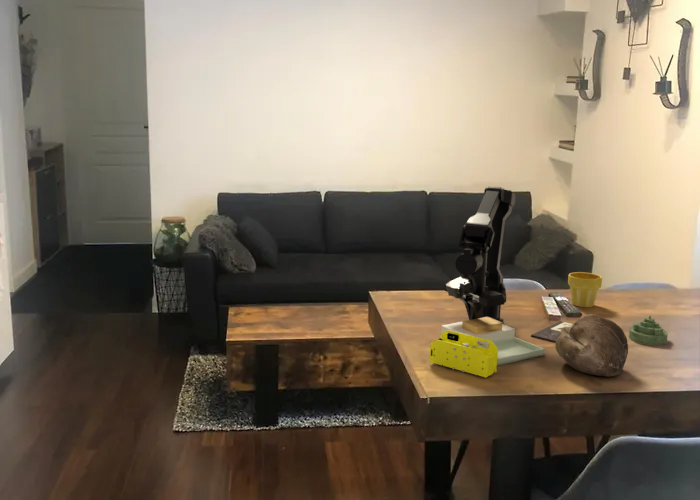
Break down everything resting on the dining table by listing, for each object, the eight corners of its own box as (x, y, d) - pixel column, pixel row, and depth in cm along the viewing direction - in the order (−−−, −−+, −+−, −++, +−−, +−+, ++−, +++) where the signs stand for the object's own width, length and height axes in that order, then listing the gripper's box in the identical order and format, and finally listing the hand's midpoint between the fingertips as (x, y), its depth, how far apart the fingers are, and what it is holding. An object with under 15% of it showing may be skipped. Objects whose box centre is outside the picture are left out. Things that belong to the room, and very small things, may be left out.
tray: (514, 342, 208) (514, 336, 207) (544, 354, 198) (544, 348, 198) (469, 352, 199) (470, 346, 199) (498, 365, 190) (499, 359, 190)
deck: (484, 330, 217) (485, 317, 217) (514, 342, 208) (515, 328, 207) (440, 339, 209) (441, 325, 208) (469, 352, 199) (470, 337, 198)
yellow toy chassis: (497, 374, 185) (499, 341, 183) (485, 381, 180) (487, 347, 178) (440, 359, 194) (442, 328, 192) (428, 365, 190) (430, 333, 188)
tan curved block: (487, 323, 211) (487, 316, 210) (502, 329, 206) (502, 322, 205) (462, 328, 206) (462, 321, 206) (476, 334, 201) (477, 327, 201)
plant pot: (572, 298, 253) (575, 270, 251) (603, 304, 247) (606, 275, 245) (561, 305, 245) (563, 275, 243) (593, 311, 239) (596, 281, 237)
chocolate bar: (531, 334, 213) (560, 321, 226) (530, 338, 213) (559, 324, 227) (561, 342, 207) (588, 327, 221) (560, 345, 207) (588, 330, 221)
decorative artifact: (628, 332, 219) (628, 342, 210) (631, 309, 218) (631, 318, 209) (666, 336, 216) (667, 347, 207) (668, 313, 215) (670, 323, 205)
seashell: (575, 350, 177) (594, 298, 184) (534, 362, 192) (553, 314, 199) (627, 385, 180) (644, 333, 186) (583, 395, 194) (600, 346, 201)
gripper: (430, 263, 209) (428, 317, 213) (475, 278, 194) (472, 336, 197) (462, 259, 215) (459, 312, 218) (508, 273, 200) (504, 330, 203)
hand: (472, 322), depth 209 cm, fingers closed
